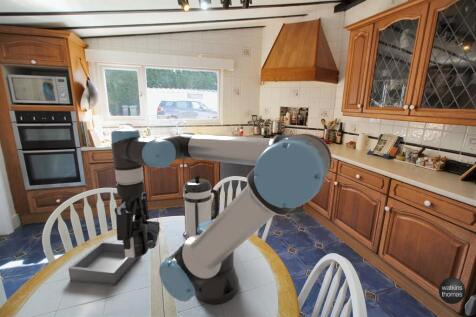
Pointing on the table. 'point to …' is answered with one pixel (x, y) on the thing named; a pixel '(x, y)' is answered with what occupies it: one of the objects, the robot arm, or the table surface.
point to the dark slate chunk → (152, 232)
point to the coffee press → (198, 204)
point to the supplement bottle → (139, 236)
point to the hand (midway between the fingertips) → (136, 249)
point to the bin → (102, 264)
